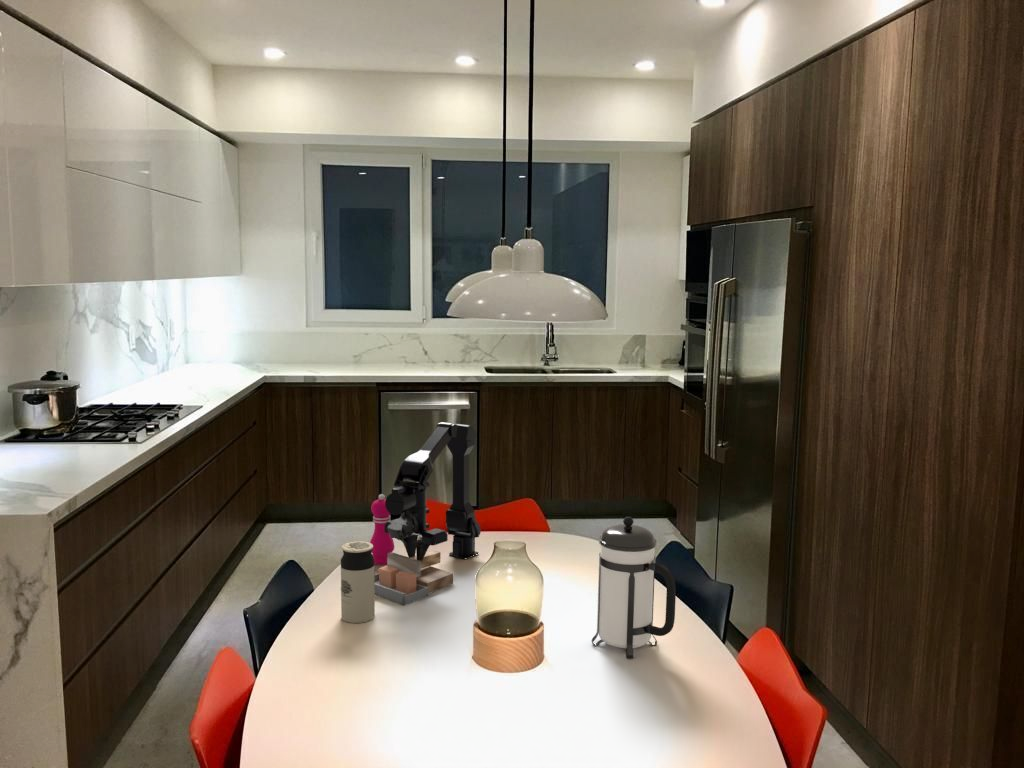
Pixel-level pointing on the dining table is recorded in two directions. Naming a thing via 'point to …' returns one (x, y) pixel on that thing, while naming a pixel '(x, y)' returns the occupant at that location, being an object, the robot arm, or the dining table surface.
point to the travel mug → (357, 582)
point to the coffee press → (630, 588)
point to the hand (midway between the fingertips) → (415, 562)
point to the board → (434, 578)
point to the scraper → (413, 562)
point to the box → (399, 593)
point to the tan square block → (388, 576)
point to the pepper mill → (381, 532)
